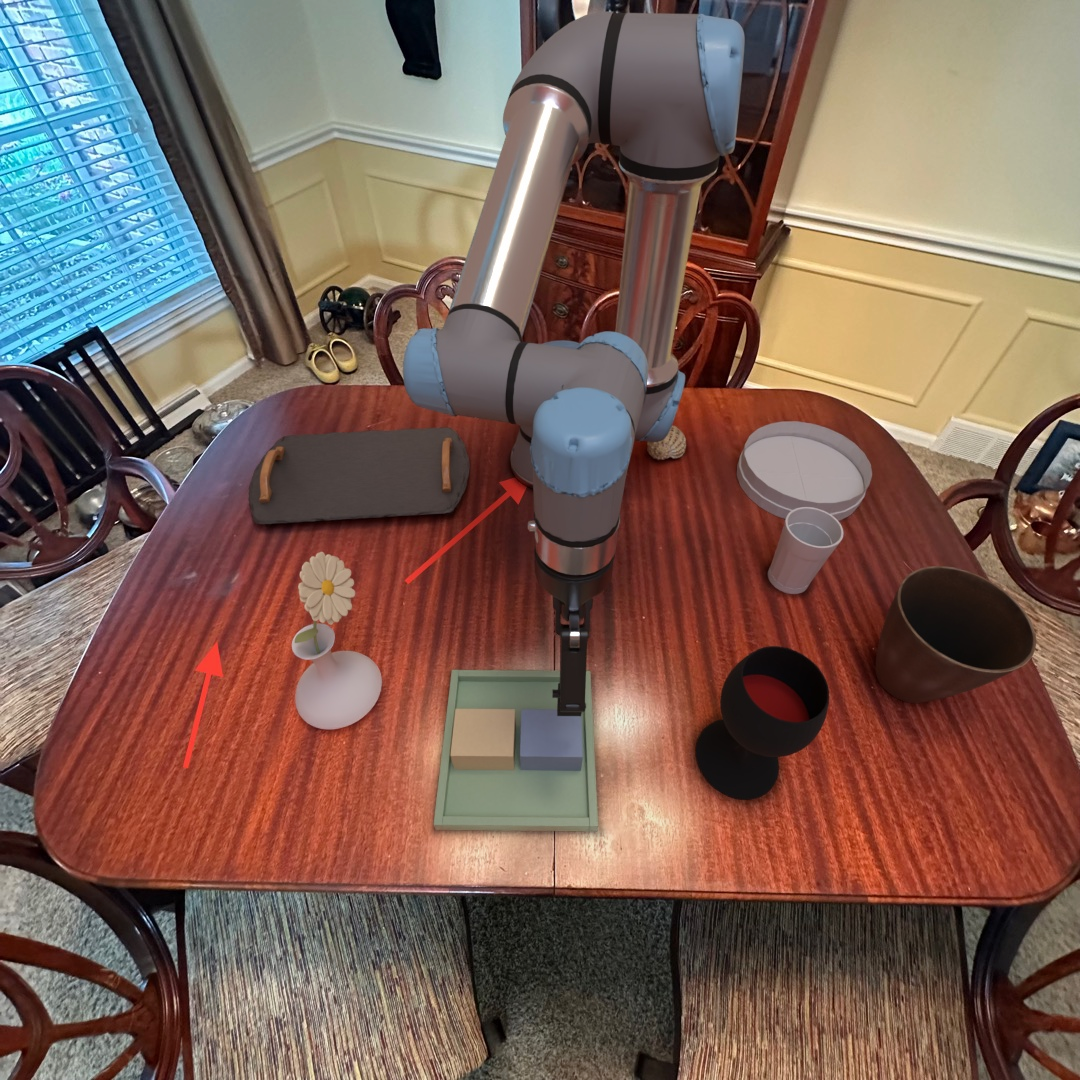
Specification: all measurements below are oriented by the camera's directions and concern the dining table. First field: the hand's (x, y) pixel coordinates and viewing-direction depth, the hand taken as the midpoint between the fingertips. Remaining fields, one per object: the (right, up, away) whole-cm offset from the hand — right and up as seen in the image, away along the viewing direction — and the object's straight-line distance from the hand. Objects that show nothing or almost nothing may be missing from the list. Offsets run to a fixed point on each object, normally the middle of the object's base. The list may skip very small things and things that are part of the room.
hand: (567, 659), depth 72 cm
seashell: (+21, +32, +44) cm, 58 cm away
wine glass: (+22, -13, +4) cm, 26 cm away
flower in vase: (-30, -6, +11) cm, 32 cm away
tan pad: (-10, -12, +5) cm, 17 cm away
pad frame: (-6, -12, +5) cm, 15 cm away
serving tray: (-35, +25, +38) cm, 57 cm away
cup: (+36, +8, +23) cm, 44 cm away
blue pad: (-2, -12, +5) cm, 13 cm away
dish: (+44, +25, +38) cm, 63 cm away
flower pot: (+47, -5, +11) cm, 49 cm away
